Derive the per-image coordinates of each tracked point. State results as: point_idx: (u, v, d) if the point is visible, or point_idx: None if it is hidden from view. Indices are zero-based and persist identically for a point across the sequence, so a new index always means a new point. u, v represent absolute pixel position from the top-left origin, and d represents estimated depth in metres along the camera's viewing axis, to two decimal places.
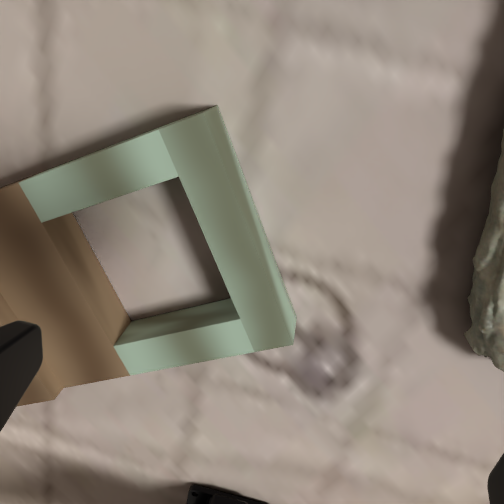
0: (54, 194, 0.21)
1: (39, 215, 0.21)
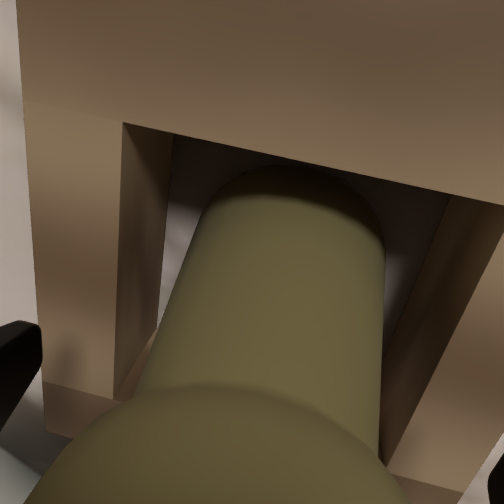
0: None
1: None
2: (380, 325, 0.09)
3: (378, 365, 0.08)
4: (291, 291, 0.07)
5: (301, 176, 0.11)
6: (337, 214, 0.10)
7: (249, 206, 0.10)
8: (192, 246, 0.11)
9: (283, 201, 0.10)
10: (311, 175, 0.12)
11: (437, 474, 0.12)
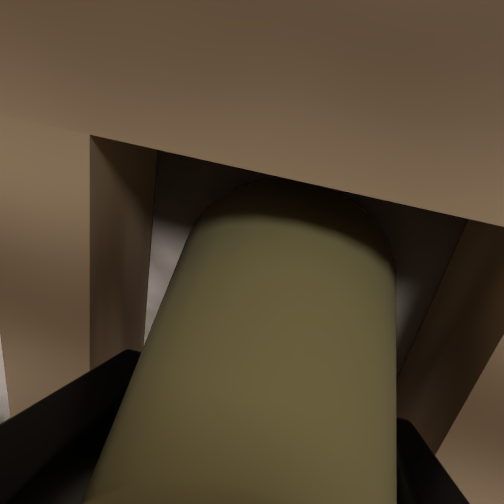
0: None
1: None
2: (393, 373, 0.08)
3: (393, 429, 0.07)
4: (288, 345, 0.06)
5: (301, 192, 0.10)
6: (342, 239, 0.09)
7: (241, 229, 0.09)
8: (176, 273, 0.09)
9: (280, 224, 0.09)
10: (312, 191, 0.10)
11: None
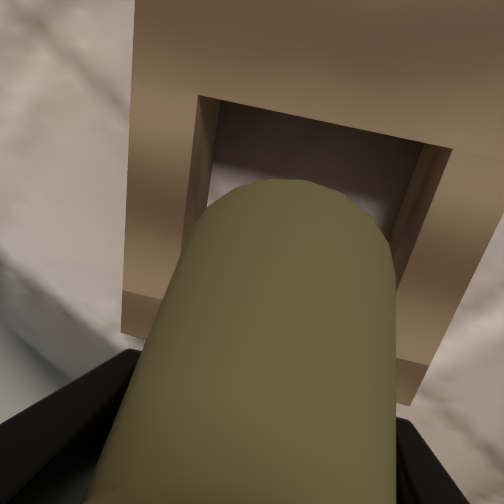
0: None
1: None
2: (393, 372, 0.08)
3: (393, 428, 0.07)
4: (287, 344, 0.06)
5: (301, 192, 0.10)
6: (342, 239, 0.09)
7: (241, 229, 0.09)
8: (176, 273, 0.09)
9: (279, 223, 0.09)
10: (312, 191, 0.10)
11: (410, 351, 0.16)
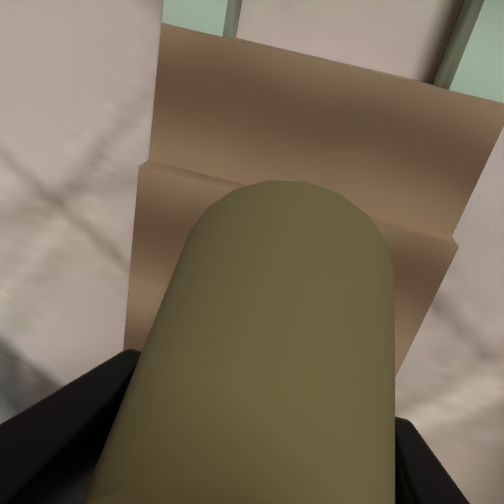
0: None
1: (212, 30, 0.15)
2: (392, 374, 0.08)
3: (392, 431, 0.07)
4: (287, 346, 0.06)
5: (300, 194, 0.10)
6: (341, 241, 0.09)
7: (240, 231, 0.09)
8: (175, 275, 0.09)
9: (279, 225, 0.09)
10: (311, 192, 0.10)
11: None
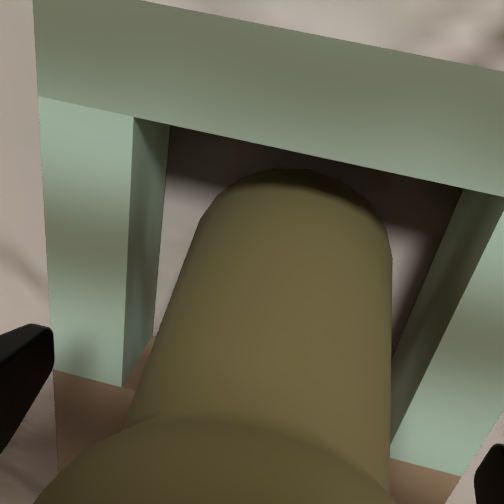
0: (86, 339, 0.12)
1: (109, 381, 0.13)
2: (389, 339, 0.09)
3: (388, 384, 0.07)
4: (295, 306, 0.07)
5: (304, 180, 0.11)
6: (342, 221, 0.10)
7: (250, 212, 0.10)
8: (190, 254, 0.10)
9: (285, 207, 0.10)
10: (314, 179, 0.11)
11: None
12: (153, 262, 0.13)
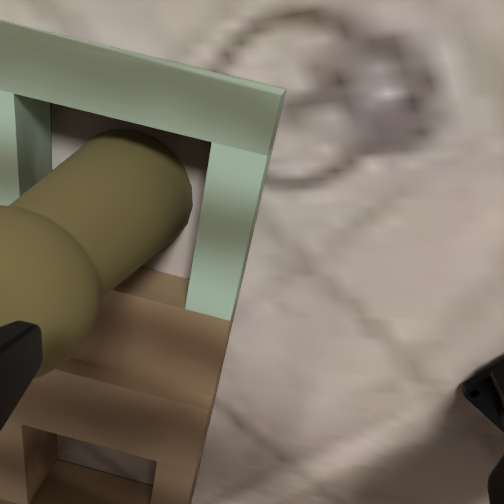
0: None
1: None
2: (146, 215, 0.16)
3: (129, 229, 0.15)
4: (74, 184, 0.14)
5: (126, 135, 0.18)
6: (136, 156, 0.17)
7: (83, 150, 0.17)
8: None
9: (103, 147, 0.17)
10: (134, 135, 0.19)
11: None
12: None
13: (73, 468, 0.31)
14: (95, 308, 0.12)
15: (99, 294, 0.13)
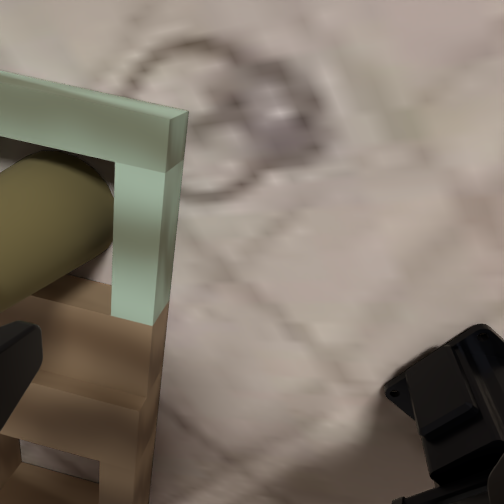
0: None
1: None
2: (56, 230, 0.18)
3: (34, 243, 0.17)
4: None
5: (49, 156, 0.20)
6: (53, 176, 0.19)
7: (5, 171, 0.19)
8: None
9: (23, 168, 0.19)
10: (57, 156, 0.20)
11: None
12: None
13: (36, 470, 0.32)
14: None
15: None
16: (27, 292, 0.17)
